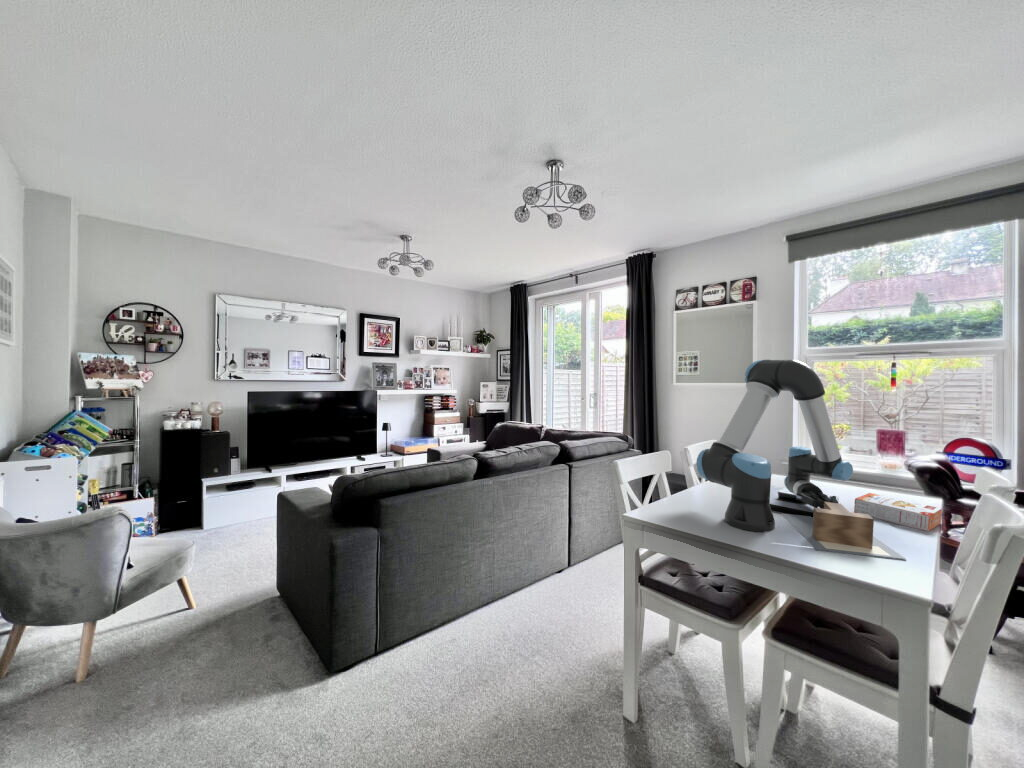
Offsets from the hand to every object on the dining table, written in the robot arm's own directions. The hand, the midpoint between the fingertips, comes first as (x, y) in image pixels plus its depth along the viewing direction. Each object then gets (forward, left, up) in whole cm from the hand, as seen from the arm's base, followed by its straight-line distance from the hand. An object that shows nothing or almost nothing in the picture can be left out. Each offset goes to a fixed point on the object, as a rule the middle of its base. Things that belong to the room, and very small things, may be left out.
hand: (836, 512), depth 142 cm
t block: (-3, -6, -6) cm, 9 cm away
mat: (-2, -3, -6) cm, 8 cm away
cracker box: (+24, +24, -3) cm, 34 cm away
